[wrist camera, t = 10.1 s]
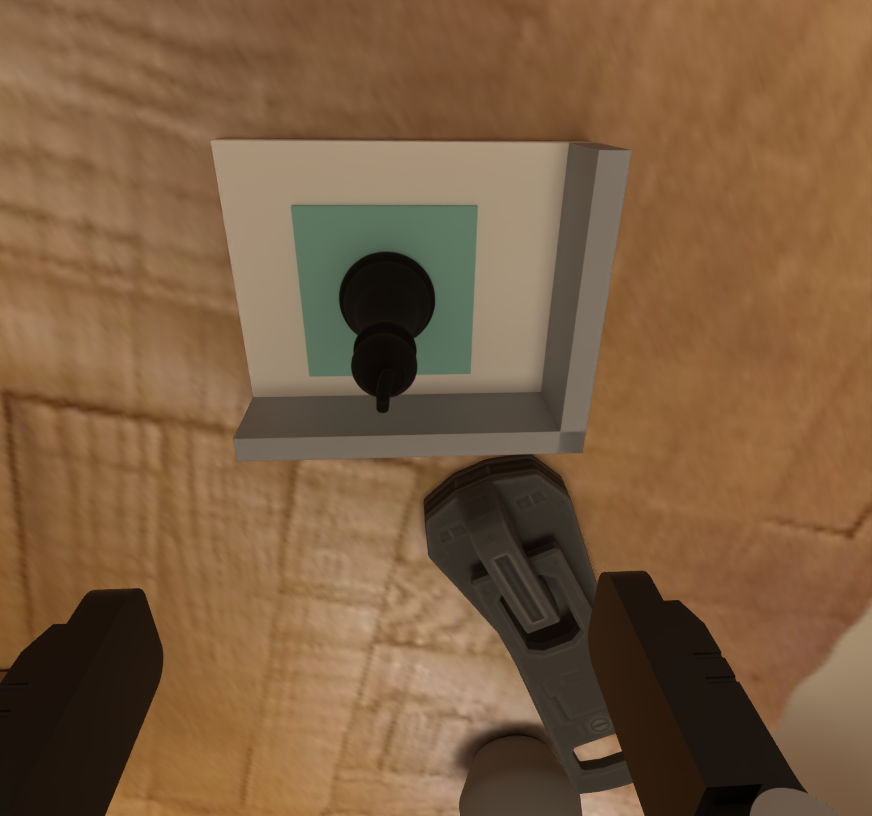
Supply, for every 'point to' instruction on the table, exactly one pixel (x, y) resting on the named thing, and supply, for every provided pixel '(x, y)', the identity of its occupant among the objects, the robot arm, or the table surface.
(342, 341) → the pad
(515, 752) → the cup
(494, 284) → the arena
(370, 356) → the chess piece
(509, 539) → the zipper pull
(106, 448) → the table surface
